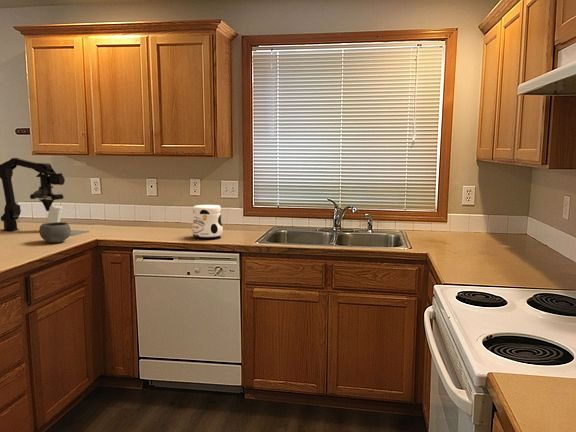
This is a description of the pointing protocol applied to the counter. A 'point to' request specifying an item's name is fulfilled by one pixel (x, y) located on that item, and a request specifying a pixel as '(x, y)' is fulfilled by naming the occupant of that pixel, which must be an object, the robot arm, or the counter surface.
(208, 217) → the milk container
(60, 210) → the skincare box
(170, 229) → the counter surface
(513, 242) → the counter surface
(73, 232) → the mat
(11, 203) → the robot arm
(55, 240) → the bowl
